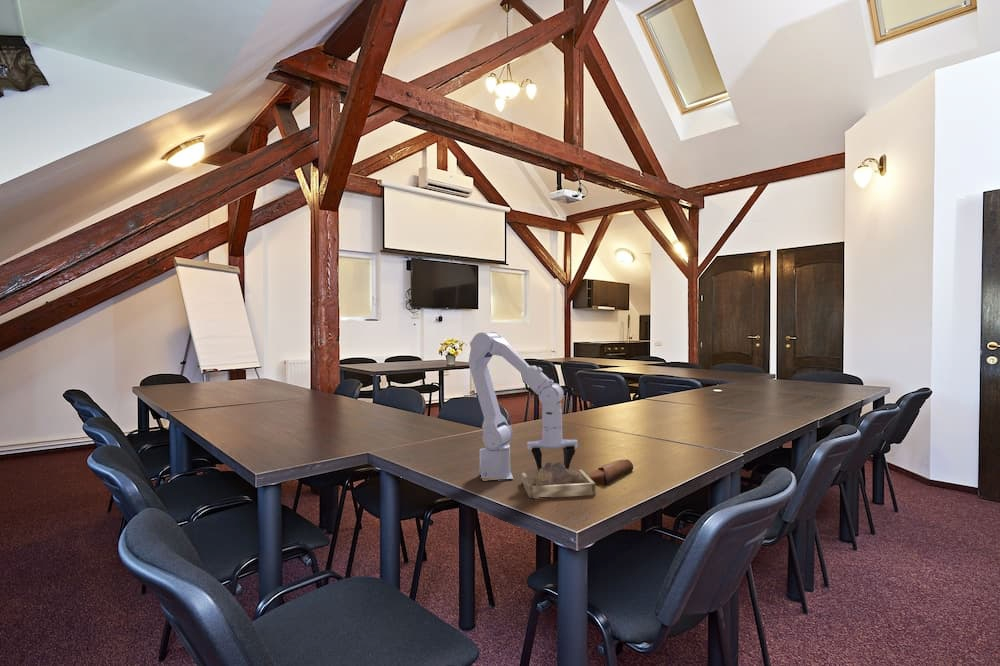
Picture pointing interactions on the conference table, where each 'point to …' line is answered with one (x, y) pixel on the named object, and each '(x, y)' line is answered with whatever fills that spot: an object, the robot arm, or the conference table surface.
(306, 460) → the conference table surface
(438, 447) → the conference table surface
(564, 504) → the conference table surface
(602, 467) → the sunglasses case
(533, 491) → the box
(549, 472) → the rock
